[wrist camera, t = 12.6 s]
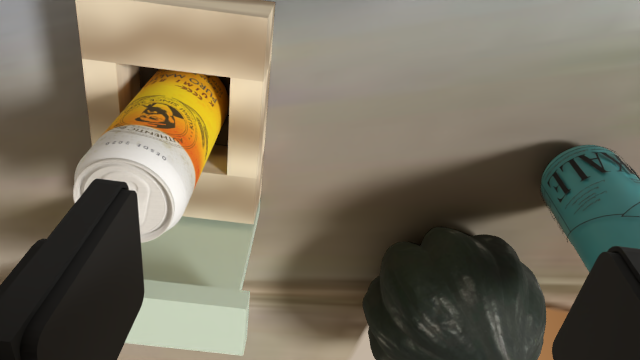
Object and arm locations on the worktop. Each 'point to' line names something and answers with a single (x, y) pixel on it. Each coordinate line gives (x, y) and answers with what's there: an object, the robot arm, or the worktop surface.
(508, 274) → the squash
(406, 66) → the worktop surface
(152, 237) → the beer can
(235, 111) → the socket
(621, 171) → the beverage bottle
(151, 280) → the mint green slab
